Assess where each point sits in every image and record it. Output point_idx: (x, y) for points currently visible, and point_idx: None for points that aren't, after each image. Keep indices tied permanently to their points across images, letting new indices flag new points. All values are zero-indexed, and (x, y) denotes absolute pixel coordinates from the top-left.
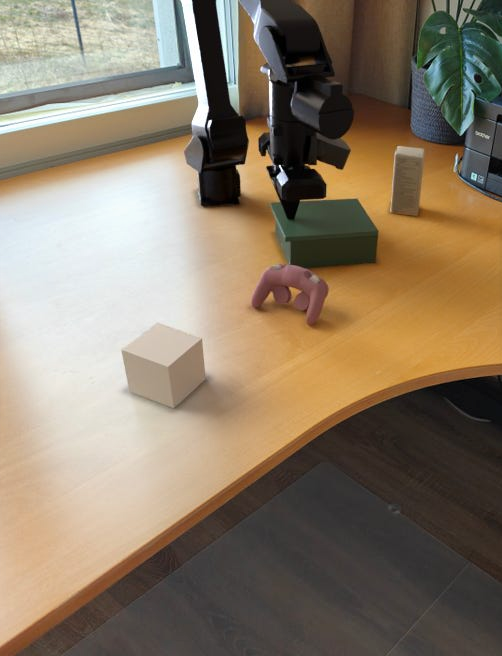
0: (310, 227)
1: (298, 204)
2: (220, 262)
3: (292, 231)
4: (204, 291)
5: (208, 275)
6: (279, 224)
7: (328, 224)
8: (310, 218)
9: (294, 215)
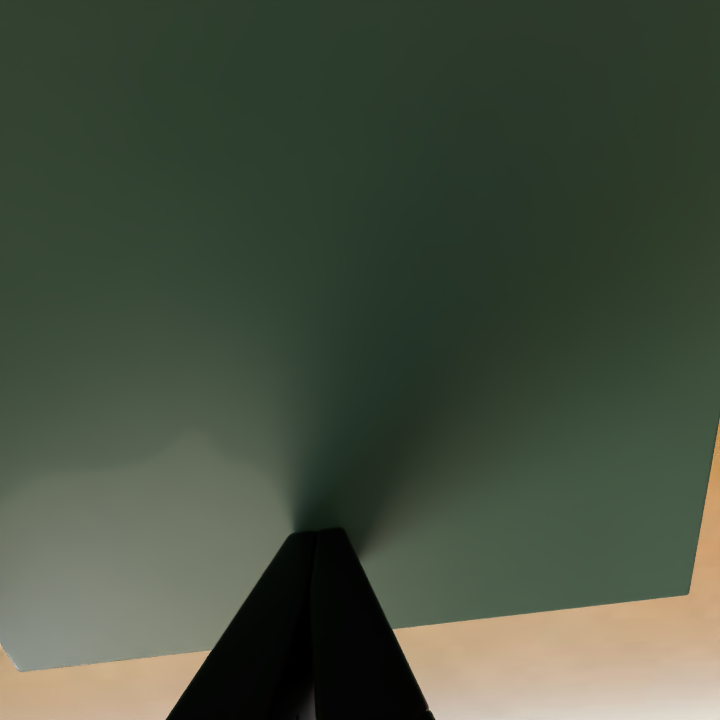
0: (540, 393)
1: (408, 671)
2: (446, 657)
3: (601, 546)
4: (673, 691)
5: (552, 686)
6: (442, 622)
7: (489, 175)
8: (317, 378)
9: (356, 558)
